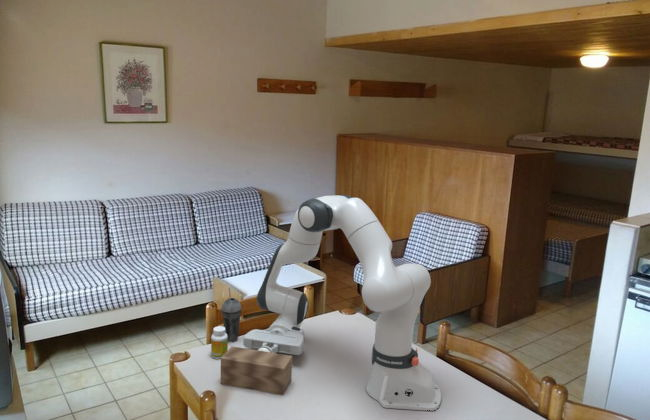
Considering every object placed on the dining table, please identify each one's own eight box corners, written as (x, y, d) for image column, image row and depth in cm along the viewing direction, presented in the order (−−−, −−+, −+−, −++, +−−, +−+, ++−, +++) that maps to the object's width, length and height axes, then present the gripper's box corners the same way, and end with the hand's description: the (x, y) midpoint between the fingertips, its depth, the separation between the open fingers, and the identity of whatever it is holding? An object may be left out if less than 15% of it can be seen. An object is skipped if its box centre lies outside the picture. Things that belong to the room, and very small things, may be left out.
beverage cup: (245, 338, 181) (246, 286, 177) (231, 346, 175) (232, 292, 171) (230, 333, 185) (231, 281, 181) (216, 340, 179) (216, 287, 175)
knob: (273, 361, 159) (273, 346, 158) (263, 375, 150) (263, 360, 149) (257, 359, 160) (258, 344, 159) (247, 373, 152) (247, 357, 150)
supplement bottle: (223, 360, 165) (223, 333, 163) (208, 358, 166) (208, 331, 164) (230, 352, 170) (230, 326, 168) (215, 350, 171) (215, 324, 169)
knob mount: (291, 381, 154) (292, 356, 153) (283, 395, 147) (284, 368, 145) (231, 370, 159) (231, 346, 157) (220, 383, 151) (220, 358, 150)
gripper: (251, 322, 174) (235, 339, 161) (308, 330, 169) (296, 348, 156) (251, 338, 175) (235, 357, 162) (307, 347, 171) (295, 367, 157)
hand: (265, 353), depth 159 cm, fingers closed, pressing on knob
